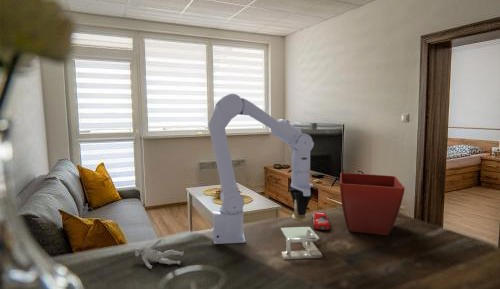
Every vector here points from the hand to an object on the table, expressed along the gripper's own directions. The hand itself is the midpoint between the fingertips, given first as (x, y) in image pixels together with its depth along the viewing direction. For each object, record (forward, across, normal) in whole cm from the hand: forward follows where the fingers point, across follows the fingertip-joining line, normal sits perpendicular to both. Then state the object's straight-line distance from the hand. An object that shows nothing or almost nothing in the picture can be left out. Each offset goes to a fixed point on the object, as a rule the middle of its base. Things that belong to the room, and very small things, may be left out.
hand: (299, 212), depth 101 cm
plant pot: (+7, +4, -25) cm, 26 cm away
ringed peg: (+2, 0, 0) cm, 2 cm away
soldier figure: (+7, -15, +42) cm, 45 cm away
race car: (+8, +8, -10) cm, 15 cm away
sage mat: (+7, 0, 0) cm, 7 cm away
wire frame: (+7, -12, +4) cm, 15 cm away
